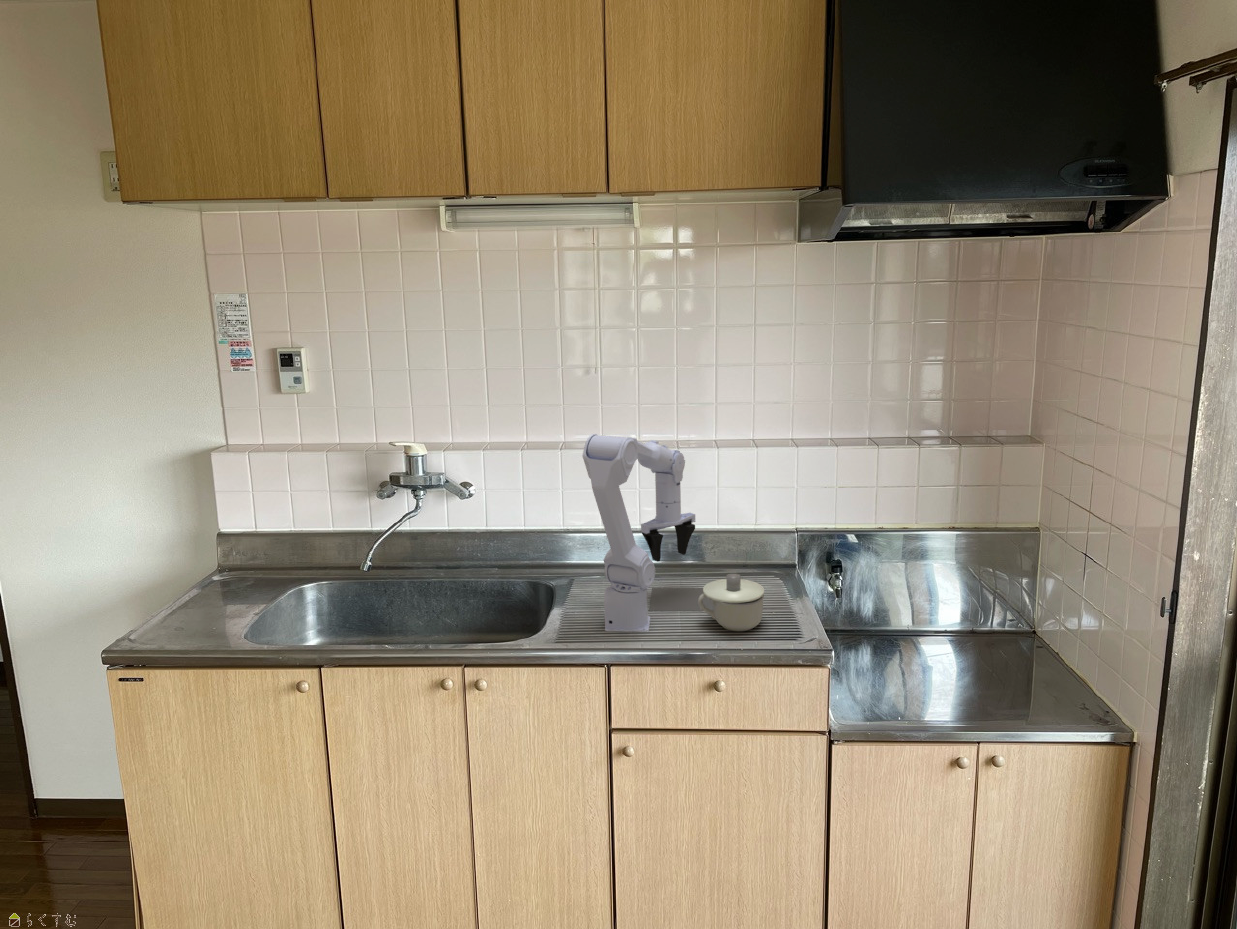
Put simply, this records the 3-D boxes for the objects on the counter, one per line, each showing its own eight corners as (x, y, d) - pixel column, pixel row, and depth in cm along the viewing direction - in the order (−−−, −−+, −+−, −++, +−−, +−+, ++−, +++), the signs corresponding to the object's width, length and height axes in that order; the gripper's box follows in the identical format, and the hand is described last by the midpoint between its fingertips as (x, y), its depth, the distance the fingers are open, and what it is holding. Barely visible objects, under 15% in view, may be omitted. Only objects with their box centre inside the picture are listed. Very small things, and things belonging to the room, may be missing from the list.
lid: (698, 600, 193) (698, 584, 192) (708, 579, 205) (707, 564, 204) (761, 604, 190) (761, 588, 189) (766, 583, 202) (766, 567, 201)
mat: (649, 612, 208) (649, 610, 208) (652, 589, 223) (652, 587, 223) (715, 612, 207) (715, 611, 207) (714, 589, 222) (714, 587, 221)
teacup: (766, 619, 202) (766, 585, 201) (759, 639, 192) (760, 603, 191) (704, 614, 206) (704, 580, 205) (694, 633, 196) (694, 598, 194)
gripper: (681, 492, 218) (682, 546, 221) (632, 502, 210) (633, 559, 213) (700, 497, 212) (701, 553, 215) (651, 508, 204) (652, 566, 207)
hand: (669, 556), depth 214 cm, fingers open, 7 cm apart
